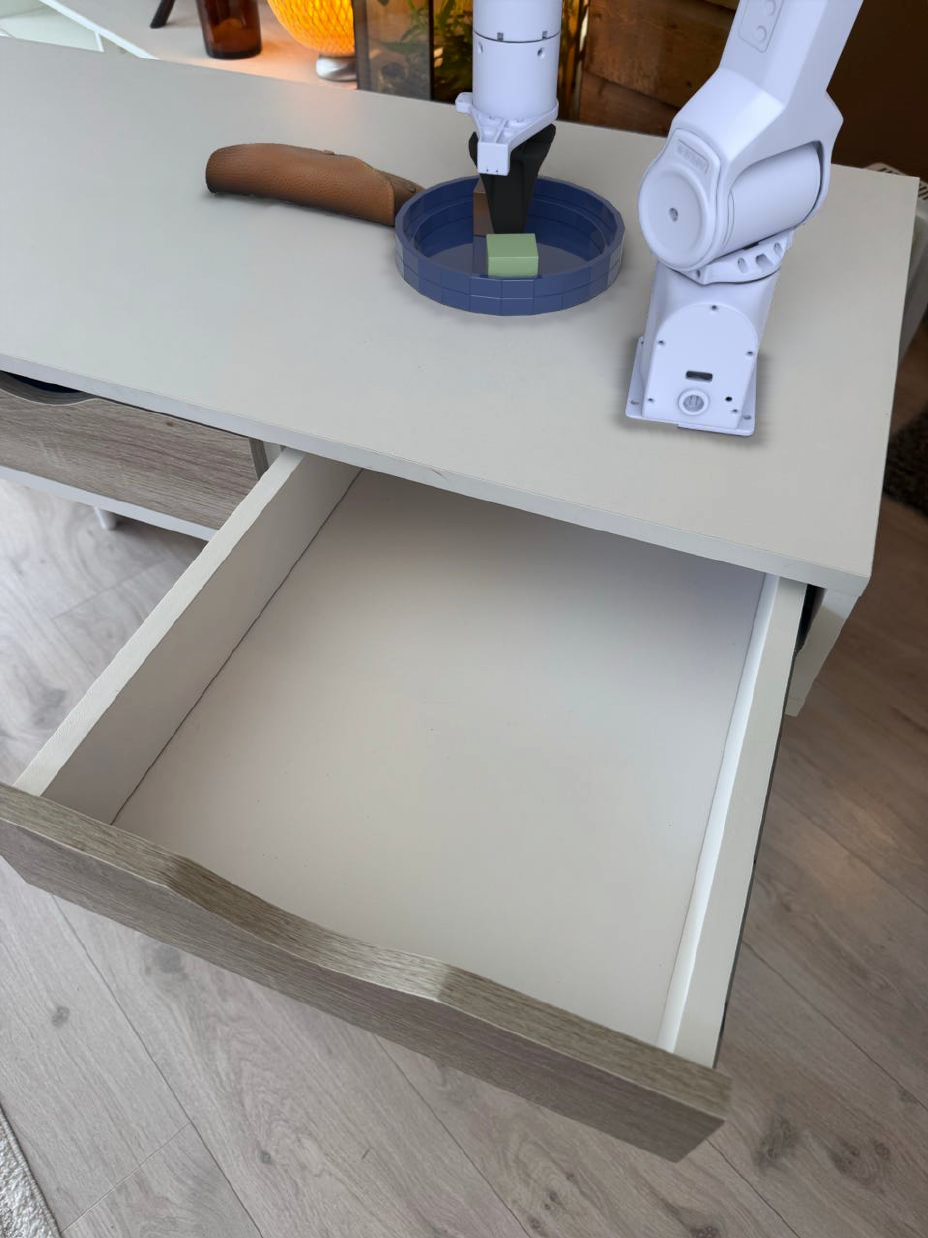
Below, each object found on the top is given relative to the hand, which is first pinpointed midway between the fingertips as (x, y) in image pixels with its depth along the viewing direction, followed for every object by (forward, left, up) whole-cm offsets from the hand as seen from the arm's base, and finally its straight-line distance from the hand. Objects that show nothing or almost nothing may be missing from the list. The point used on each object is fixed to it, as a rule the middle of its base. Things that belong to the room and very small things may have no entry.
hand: (509, 232), depth 71 cm
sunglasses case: (+7, +18, -3) cm, 19 cm away
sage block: (-5, -1, -2) cm, 6 cm away
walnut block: (+5, +2, -2) cm, 5 cm away
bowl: (0, 0, -2) cm, 2 cm away
